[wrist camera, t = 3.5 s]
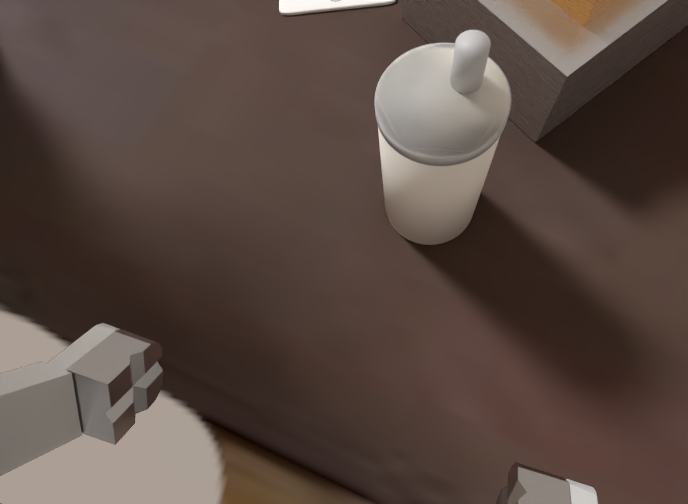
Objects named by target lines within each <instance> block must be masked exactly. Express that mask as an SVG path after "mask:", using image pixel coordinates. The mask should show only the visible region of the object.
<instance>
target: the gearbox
mask: <svg viewBox="0 0 688 504" xmlns="http://www.w3.org/2000/svg"><path fill="white" fill-rule="evenodd" d="M402 19H403V20H404V21H406V22H407V23H408V24H409V25H410V26H411V27H412V28H413V29H414V30H415V31H416V32H417V33H418V34H419V35H420V36H422V37H423V38H424V39H425V40H426V41H427V42H428V43H429V44H433V43H455V41H456V39H457V37H458V36H459V35H460V34H461V33H463V32H465V31H467V30H479V31H482V32H484V33H485V34H486V35H487V36H488V37H489V39H490V41H491V46H490V51H489V55H488V57H489V58H491V59H492V60H493V61H494V62H495V63H496V64H497V65H498V66H499V67H500V69H501V70H502V71H503V73H504V75H505V76H506V78H507V81H508V83H509V86H510V91H511V108H510V112H509V116H508V118H509V119H510V120H511V121H512V122H513V123H515V124H516V125H517V126H518V127H519V128H520V129H521V130H522V131H523V132H524V133H525V134H526V135H527V136H528V137H529V138H531V139H532V140H533V141H534V142H535V143H536V142H537V141H538V140H540V139H541V138H542V137H544V136H545V135H546V134H547V133H549V132H550V131H551V130H553V129H554V128H555V127H557V126H558V125H559V124H560V123H562V122H563V121H564V120H566V119H567V118H568V117H570V116H571V115H572V114H573V113H575V112H576V111H577V110H579V109H580V108H581V107H582V106H584V105H585V104H586V103H588V102H589V101H590V100H592V99H593V98H594V97H595V96H597V95H598V94H599V93H601V92H602V91H603V90H605V89H606V88H607V87H608V86H610V85H611V84H612V83H614V82H615V81H616V80H618V79H619V78H620V77H621V76H623V75H624V74H625V73H627V72H628V71H629V70H631V69H632V68H633V67H634V66H636V65H637V64H638V63H640V62H641V61H642V60H644V59H645V58H646V57H647V56H649V55H650V54H651V53H653V52H654V51H655V50H656V49H658V48H659V47H660V46H662V45H663V44H664V43H666V42H667V41H668V40H669V39H671V38H672V37H673V36H675V35H676V34H677V33H679V32H680V31H681V30H682V29H684V28H685V27H686V26H688V0H402Z"/></svg>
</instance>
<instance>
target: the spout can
mask: <svg viewBox="0 0 688 504" xmlns="http://www.w3.org/2000/svg"><path fill="white" fill-rule="evenodd" d="M490 46H491V41H490V39H489V37H488V36H487V35H486V34H485V33H484V32H482V31H479V30H467V31H465V32H463V33H461V34H460V35H459V36H458V37H457V39H456V41H455V43H433V44H427V45H423V46H420V47H417V48H414V49H412V50H410V51H408V52H406V53H404V54H403V55H401V56H400V57H398V58H397V59H396V60H395V61H393V62H392V63H391V64H390V65H389V67H388V68H387V69H386V70H385V72H384V73H383V75H382V76H381V78H380V80H379V83H378V85H377V88H376V93H375V112H376V120H377V124H378V132H379V143H380V154H381V166H382V177H383V188H384V200H385V210H386V215H387V217H388V220H389V222H390V224H391V225H392V227H393V228H394V229H395V230H396V231H397V232H398V233H399V234H400V235H401V236H403V237H404V238H406V239H408V240H410V241H412V242H415V243H418V244H424V245H436V244H441V243H445V242H448V241H450V240H452V239H454V238H456V237H457V236H458V235H460V234H461V233H462V232H463V231H464V230H465V229H466V227H467V226H468V225H469V223H470V221H471V219H472V216H473V213H474V211H475V208H476V205H477V202H478V199H479V196H480V193H481V190H482V187H483V184H484V182H485V179H486V176H487V173H488V170H489V167H490V164H491V161H492V158H493V155H494V152H495V150H496V147H497V144H498V141H499V138H500V135H501V134H502V132H503V129H504V127H505V125H506V122H507V119H508V116H509V112H510V108H511V91H510V86H509V83H508V81H507V78H506V76H505V75H504V73H503V71H502V70H501V69H500V67H499V66H498V65H497V64H496V63H495V62H494V61H493V60H492V59H491V58H489V57H488V55H489V51H490Z"/></svg>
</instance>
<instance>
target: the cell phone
mask: <svg viewBox="0 0 688 504" xmlns="http://www.w3.org/2000/svg"><path fill="white" fill-rule="evenodd" d="M395 1H396V0H279V11H280V13H281V14H282V15H297V14H307V13H316V12H325V11H334V10H344V9H353V8H362V7H371V6H381V5H388V4H392V3H394V2H395Z"/></svg>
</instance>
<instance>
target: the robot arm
mask: <svg viewBox="0 0 688 504" xmlns="http://www.w3.org/2000/svg"><path fill="white" fill-rule="evenodd" d="M161 357H162V347H161V344H159V343H157V342H155V341H152V340H150V339H147V338H144V337H141V336H139V335H136V334H133V333H131V332H128V331H125V330H122V329H119V328H116V327H113V326H110V325H108V324H105V323H102V324H98V325H95V326H94V327H93V328H92V329H90V330H89V331H88V332H86V333H85V334H84V335H82V336H81V337H80V338H79V339H77V340H76V341H75V342H73V343H72V344H71V345H70V346H68V347H67V348H66V349H64V350H63V351H62V352H61V353H59V354H58V355H57V356H55V357H54V358H53V359H52V360H50V361H49V362H48V363H44V362H38V363H34V364H31V365H27V366H24V367H20V368H17V369H14V370H10V371H7V372H3V373H0V476H1V475H3V474H5V473H7V472H9V471H11V470H13V469H15V468H17V467H19V466H21V465H23V464H25V463H27V462H29V461H31V460H33V459H35V458H37V457H39V456H41V455H43V454H45V453H47V452H49V451H51V450H53V449H55V448H57V447H59V446H61V445H63V444H65V443H67V442H69V441H71V440H73V439H75V438H77V437H79V436H81V435H82V433H84V434H86V435H89V436H92V437H95V438H98V439H101V440H103V441H106V442H109V443H112V444H116V443H117V442H118V441H119V440H120V439H121V438H122V437H123V435H125V434H126V432H127V431H128V430H129V429H130V428H131V427H132V426H133V425H134V423H135V414H136V413H139V412H141V411H144V410H146V409H148V408H149V407H150V406H151V404H152V403H153V402H154V401H155V400H156V398H157V396H158V394H159V392H160V390H161V388H162V383H163V370H162V368H161V367H160V365H159V363H158V362H157V361H158V360H159V359H160V358H161ZM0 504H1V503H0ZM496 504H598V499H597V493H596V491H595V490H594V488H593V487H590V486H587V485H584V484H581V483H578V482H575V481H572V480H569V479H565V478H563V477H560V476H557V475H554V474H551V473H548V472H544V471H541V470H538V469H535V468H532V467H529V466H526V465H523V464H520V463H517V462H515V463H514V464H513V465H512V467H511V469H510V471H509V473H508V486H506V487H504V488H502V489H501V491H500V494H499V496H498V499H497V502H496Z"/></svg>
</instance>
